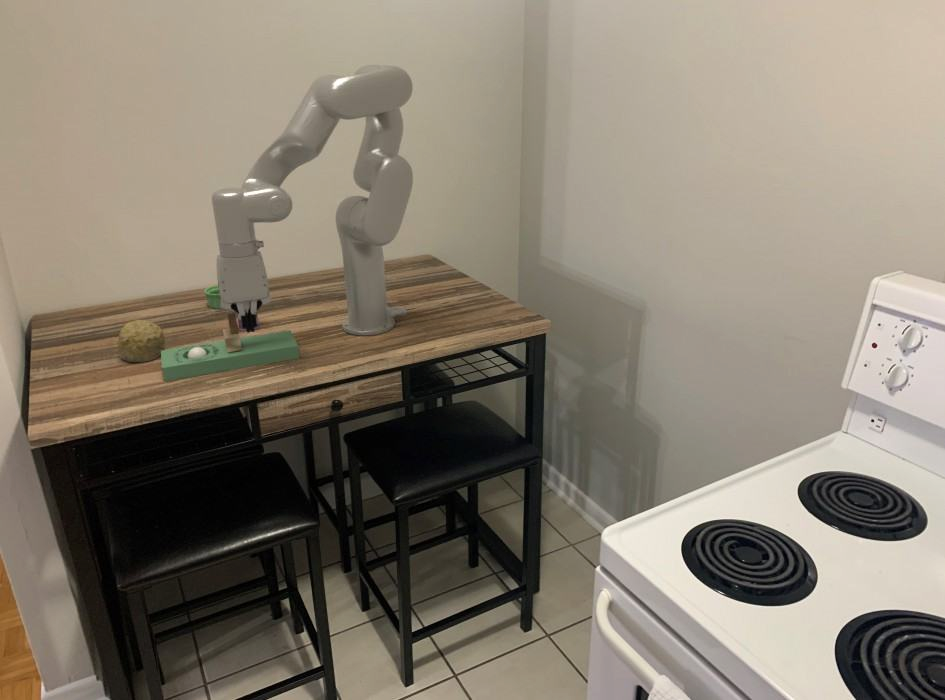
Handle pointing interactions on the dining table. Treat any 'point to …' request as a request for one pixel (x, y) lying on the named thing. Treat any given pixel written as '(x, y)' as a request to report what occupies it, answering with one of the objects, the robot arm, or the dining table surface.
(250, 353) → the putting green
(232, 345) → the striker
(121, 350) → the rock
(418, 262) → the dining table surface
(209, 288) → the ramekin
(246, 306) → the container
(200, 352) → the golf ball
